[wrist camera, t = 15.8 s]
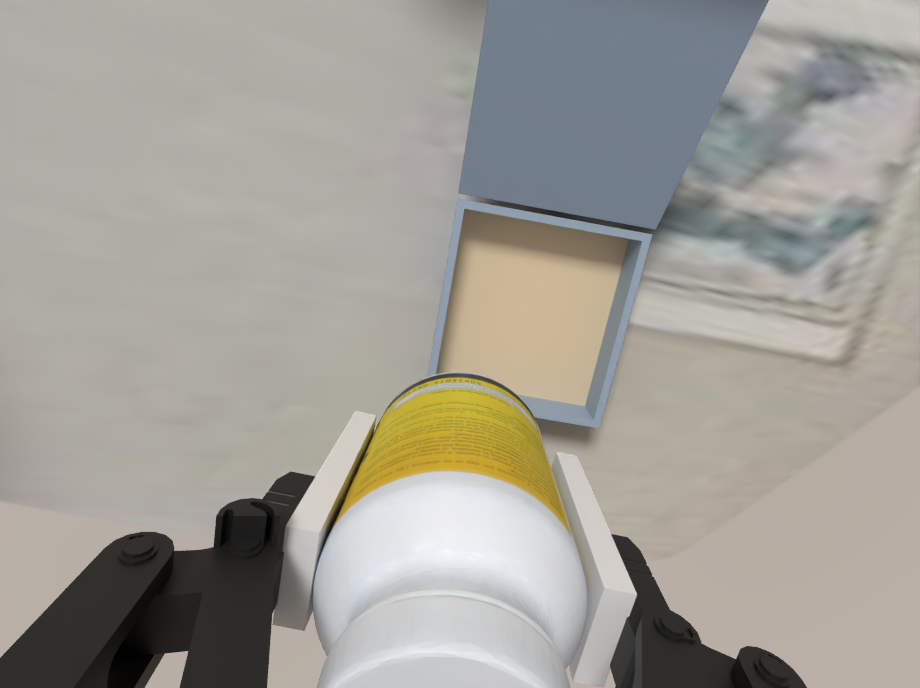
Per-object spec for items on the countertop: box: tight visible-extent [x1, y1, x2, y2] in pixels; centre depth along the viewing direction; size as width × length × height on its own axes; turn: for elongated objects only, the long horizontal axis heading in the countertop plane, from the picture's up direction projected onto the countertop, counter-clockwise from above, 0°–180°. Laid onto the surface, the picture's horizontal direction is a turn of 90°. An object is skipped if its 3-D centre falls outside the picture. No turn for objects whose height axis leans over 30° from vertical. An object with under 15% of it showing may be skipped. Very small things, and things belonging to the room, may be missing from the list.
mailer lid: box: [458, 0, 769, 230], centre depth 24 cm, size 12×14×2 cm
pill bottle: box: [313, 372, 587, 688], centre depth 14 cm, size 6×6×12 cm
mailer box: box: [428, 199, 652, 428], centre depth 32 cm, size 12×13×3 cm
